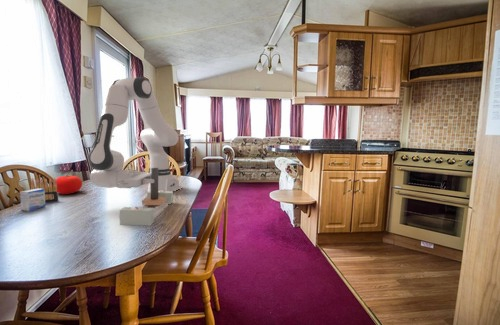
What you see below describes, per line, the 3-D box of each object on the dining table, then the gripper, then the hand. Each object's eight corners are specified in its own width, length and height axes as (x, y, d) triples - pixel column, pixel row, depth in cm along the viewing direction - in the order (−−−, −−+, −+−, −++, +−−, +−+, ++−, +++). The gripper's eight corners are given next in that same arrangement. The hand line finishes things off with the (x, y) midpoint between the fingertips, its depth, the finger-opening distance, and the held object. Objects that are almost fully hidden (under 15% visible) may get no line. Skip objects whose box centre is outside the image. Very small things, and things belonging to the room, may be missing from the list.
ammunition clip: (31, 203, 129) (29, 179, 127) (31, 202, 130) (30, 178, 129) (57, 201, 134) (56, 178, 133) (58, 200, 136) (57, 177, 134)
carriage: (148, 200, 131) (147, 166, 129) (166, 200, 132) (166, 167, 130) (142, 204, 123) (141, 168, 121) (161, 205, 124) (161, 169, 122)
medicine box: (28, 211, 117) (27, 192, 116) (20, 210, 118) (19, 191, 117) (45, 206, 125) (44, 188, 124) (38, 205, 126) (37, 187, 125)
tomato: (61, 190, 156) (60, 173, 155) (85, 190, 159) (85, 173, 158) (49, 196, 142) (48, 177, 141) (76, 195, 145) (75, 177, 144)
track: (150, 201, 139) (150, 189, 138) (173, 202, 139) (173, 190, 138) (119, 224, 105) (119, 209, 104) (150, 225, 105) (149, 209, 104)
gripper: (116, 176, 115) (148, 177, 115) (135, 169, 135) (162, 170, 136) (116, 190, 116) (148, 191, 116) (135, 181, 136) (162, 182, 137)
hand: (156, 180), depth 126 cm, fingers closed on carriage, 4 cm apart
